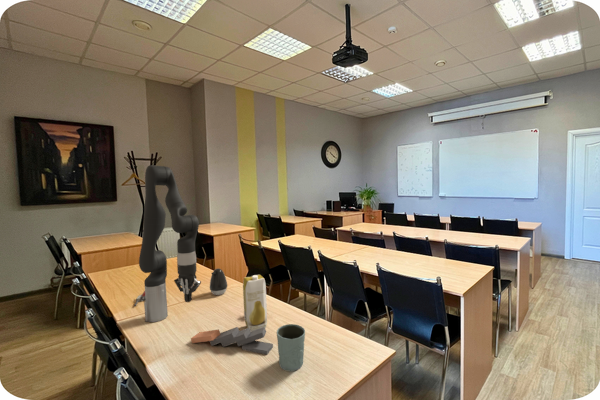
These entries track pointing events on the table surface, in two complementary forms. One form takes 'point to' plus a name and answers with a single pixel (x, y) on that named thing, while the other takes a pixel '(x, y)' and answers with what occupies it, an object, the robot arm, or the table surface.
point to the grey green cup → (291, 346)
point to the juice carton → (255, 302)
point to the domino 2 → (225, 336)
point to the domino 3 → (237, 337)
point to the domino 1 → (205, 336)
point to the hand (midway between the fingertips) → (188, 301)
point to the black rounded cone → (218, 282)
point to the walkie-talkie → (140, 298)
